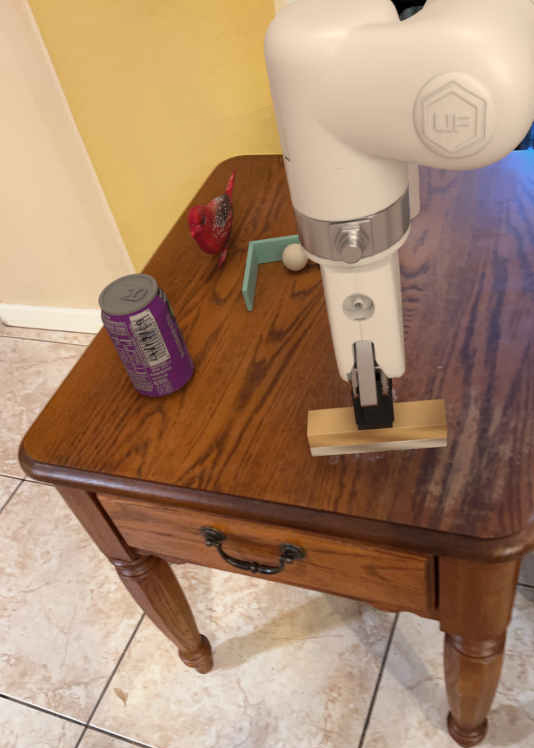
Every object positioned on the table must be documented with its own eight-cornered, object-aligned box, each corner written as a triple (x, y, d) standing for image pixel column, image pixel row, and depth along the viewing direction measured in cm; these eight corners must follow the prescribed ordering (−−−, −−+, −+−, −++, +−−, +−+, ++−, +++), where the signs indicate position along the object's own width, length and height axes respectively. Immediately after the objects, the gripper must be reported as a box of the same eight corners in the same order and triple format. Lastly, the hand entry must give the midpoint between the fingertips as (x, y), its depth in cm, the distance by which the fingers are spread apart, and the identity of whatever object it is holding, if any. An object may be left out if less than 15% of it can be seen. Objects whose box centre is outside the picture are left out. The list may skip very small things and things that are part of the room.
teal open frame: (388, 217, 90) (387, 195, 87) (393, 292, 80) (391, 271, 78) (258, 236, 93) (253, 216, 91) (247, 311, 84) (241, 290, 81)
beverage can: (205, 359, 80) (172, 271, 71) (181, 404, 76) (143, 317, 67) (151, 354, 82) (112, 269, 73) (125, 398, 78) (81, 313, 69)
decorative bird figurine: (199, 292, 88) (175, 221, 80) (235, 211, 98) (217, 142, 91) (220, 291, 87) (198, 220, 80) (255, 210, 97) (238, 140, 90)
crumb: (306, 236, 85) (305, 252, 83) (310, 257, 88) (309, 274, 86) (280, 240, 86) (279, 256, 84) (285, 261, 88) (284, 277, 86)
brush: (444, 421, 63) (443, 337, 56) (447, 446, 62) (446, 363, 54) (313, 432, 66) (295, 352, 58) (312, 456, 64) (293, 378, 56)
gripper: (417, 284, 41) (425, 478, 55) (403, 143, 51) (413, 337, 65) (289, 300, 42) (330, 484, 56) (301, 160, 52) (332, 346, 66)
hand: (374, 404), depth 60 cm, fingers closed on brush, 3 cm apart
